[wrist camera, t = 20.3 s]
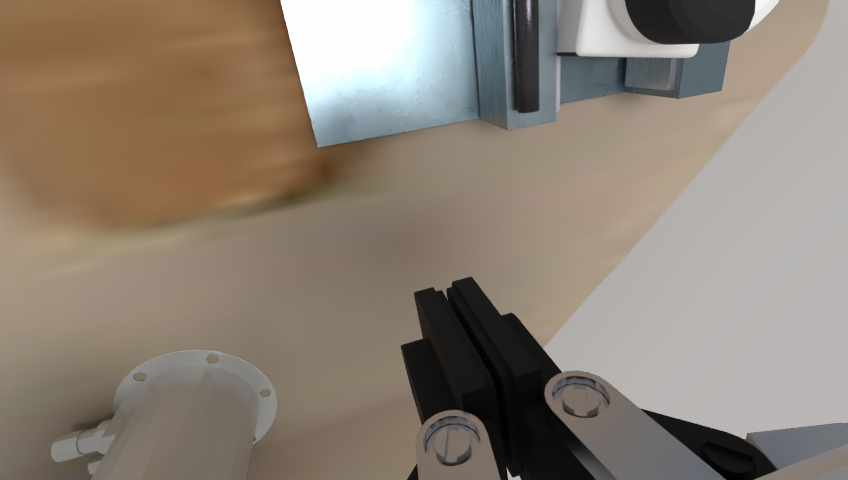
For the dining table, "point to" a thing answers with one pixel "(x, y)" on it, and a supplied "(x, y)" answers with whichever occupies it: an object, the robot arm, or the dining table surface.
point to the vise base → (441, 67)
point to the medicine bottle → (652, 26)
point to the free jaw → (517, 61)
